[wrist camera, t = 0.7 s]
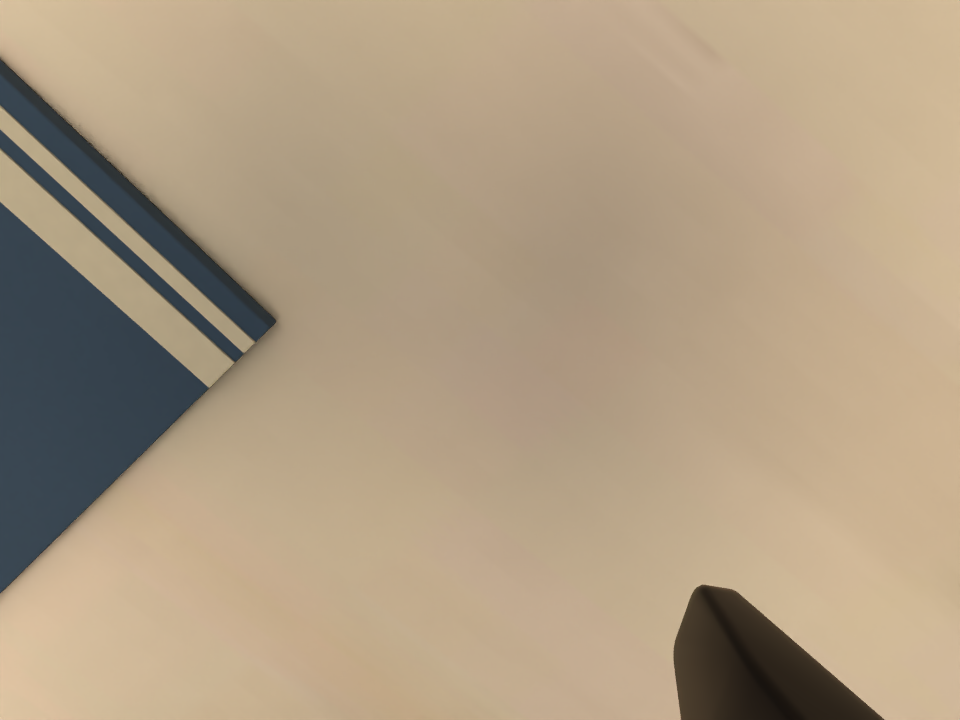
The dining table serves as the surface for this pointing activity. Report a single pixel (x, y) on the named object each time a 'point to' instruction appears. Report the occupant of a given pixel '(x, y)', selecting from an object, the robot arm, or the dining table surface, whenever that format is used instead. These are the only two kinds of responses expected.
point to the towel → (92, 324)
